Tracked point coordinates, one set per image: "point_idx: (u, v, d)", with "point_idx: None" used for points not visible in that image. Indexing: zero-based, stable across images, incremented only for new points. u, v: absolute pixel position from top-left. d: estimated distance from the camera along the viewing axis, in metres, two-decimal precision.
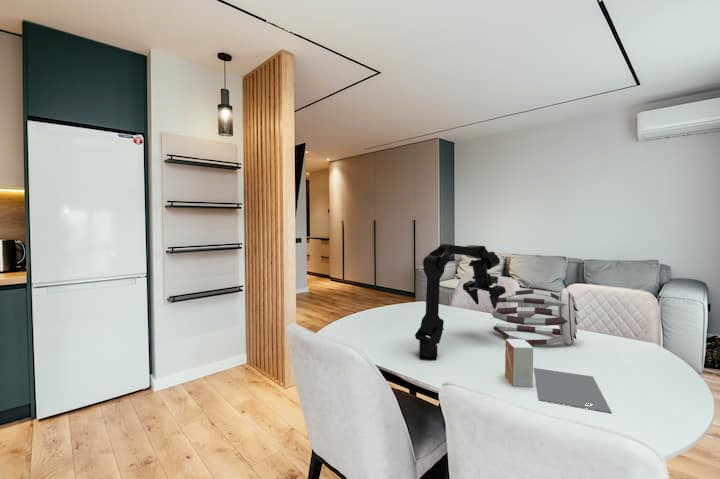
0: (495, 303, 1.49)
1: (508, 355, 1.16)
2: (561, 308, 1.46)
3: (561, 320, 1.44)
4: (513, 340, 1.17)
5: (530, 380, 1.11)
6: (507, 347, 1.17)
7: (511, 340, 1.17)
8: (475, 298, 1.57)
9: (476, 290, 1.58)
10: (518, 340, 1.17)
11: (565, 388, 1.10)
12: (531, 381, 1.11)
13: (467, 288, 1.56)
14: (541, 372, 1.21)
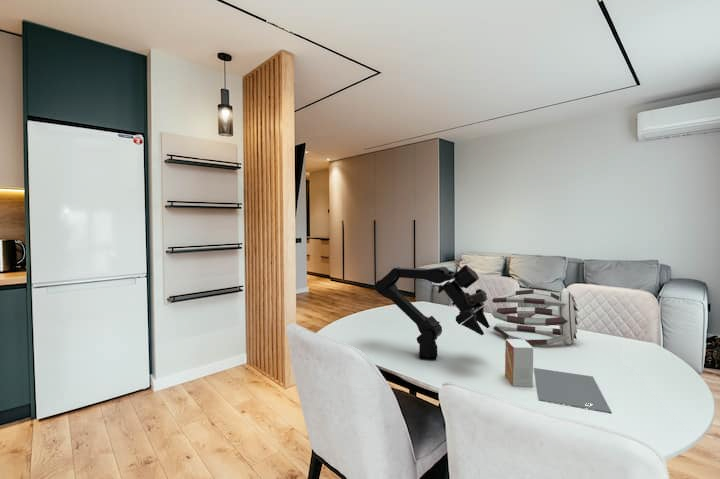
0: (476, 329, 1.20)
1: (508, 355, 1.16)
2: (561, 308, 1.46)
3: (562, 320, 1.44)
4: (513, 340, 1.17)
5: (530, 380, 1.11)
6: (507, 347, 1.17)
7: (511, 340, 1.17)
8: (481, 321, 1.29)
9: (480, 311, 1.30)
10: (518, 340, 1.17)
11: (565, 388, 1.10)
12: (531, 381, 1.11)
13: None
14: (541, 372, 1.21)
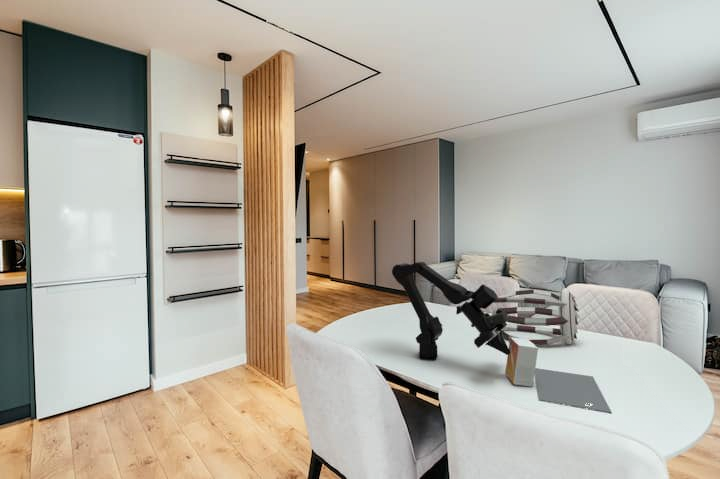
0: (501, 348, 1.17)
1: (511, 353, 1.16)
2: (562, 308, 1.46)
3: (562, 320, 1.44)
4: (518, 339, 1.17)
5: (531, 380, 1.11)
6: (511, 345, 1.17)
7: (516, 339, 1.17)
8: None
9: None
10: (523, 339, 1.17)
11: (565, 388, 1.10)
12: (532, 381, 1.11)
13: None
14: (541, 372, 1.21)
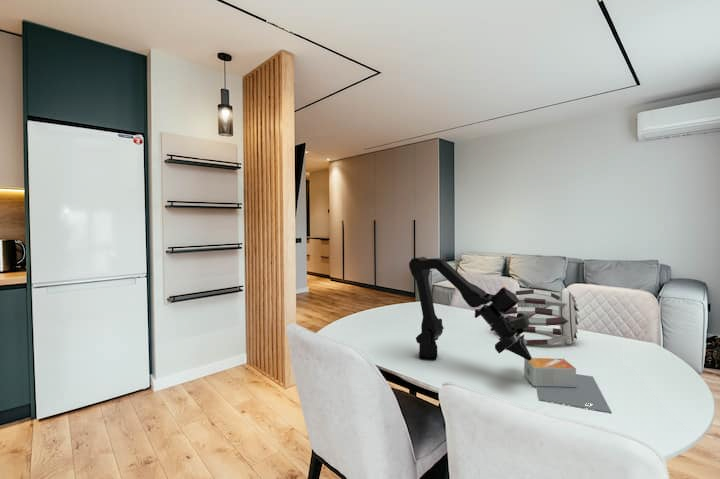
0: (523, 354, 1.13)
1: (554, 362, 1.15)
2: (562, 308, 1.46)
3: (562, 320, 1.45)
4: None
5: (540, 384, 1.11)
6: (560, 361, 1.15)
7: None
8: None
9: None
10: None
11: (565, 388, 1.10)
12: (539, 384, 1.11)
13: None
14: None
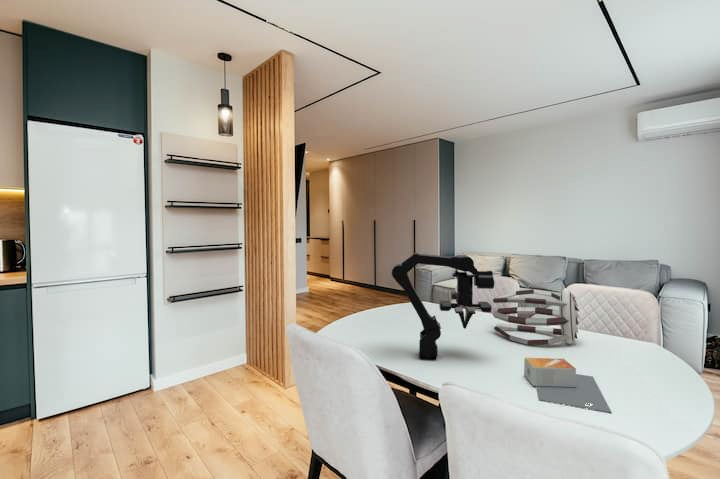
0: None
1: (554, 362, 1.15)
2: (563, 308, 1.46)
3: (563, 320, 1.45)
4: None
5: (540, 384, 1.11)
6: (560, 361, 1.15)
7: None
8: None
9: None
10: None
11: (565, 388, 1.10)
12: (539, 384, 1.11)
13: (449, 307, 1.31)
14: None
